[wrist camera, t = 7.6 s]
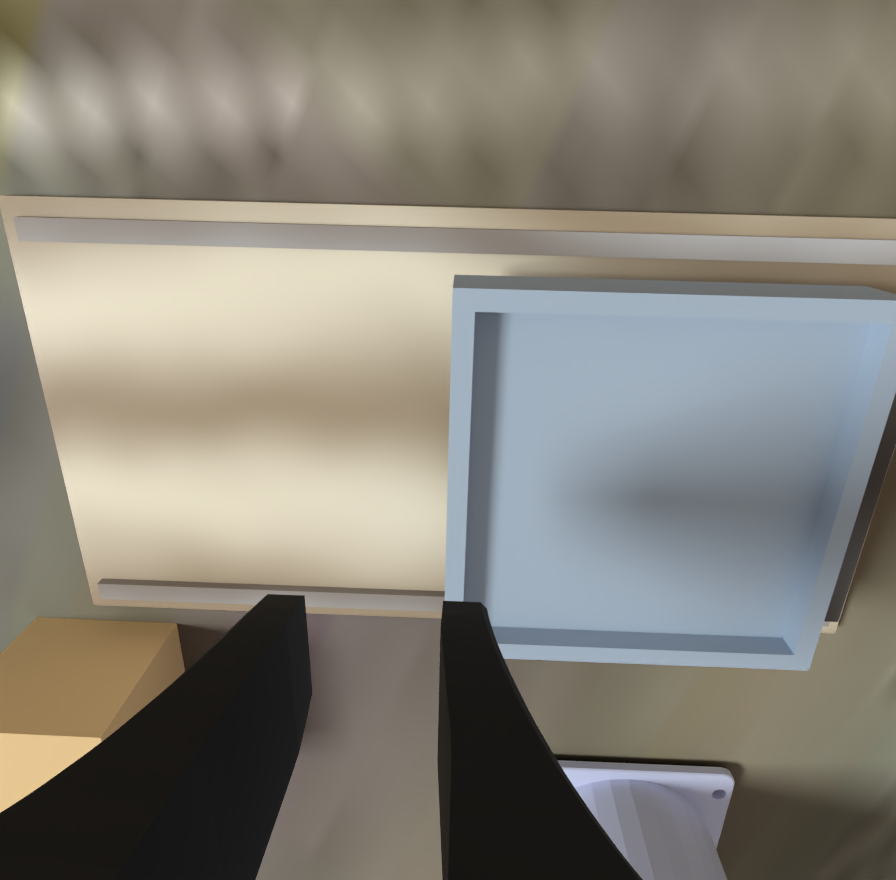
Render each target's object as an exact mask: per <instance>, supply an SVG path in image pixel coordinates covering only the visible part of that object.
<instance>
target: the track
mask: <svg viewBox="0 0 896 880" xmlns="http://www.w3.org/2000/svg"><path fill="white" fill-rule="evenodd" d="M0 209H1V213H2V218H3V222H4V226H5V230H6V235H7V239H8V243H9V247H10V252H11V256H12V260H13V264H14V269H15V273H16V277H17V281H18V286H19V290H20V294H21V298H22V302H23V307H24V311H25V315H26V319H27V324H28V328H29V332H30V336H31V341H32V345H33V349H34V353H35V358H36V362H37V366H38V370H39V375H40V379H41V383H42V387H43V392H44V396H45V400H46V404H47V409H48V413H49V417H50V421H51V426H52V430H53V434H54V438H55V443H56V447H57V451H58V455H59V460H60V464H61V468H62V472H63V477H64V481H65V485H66V489H67V494H68V498H69V502H70V506H71V511H72V515H73V519H74V523H75V528H76V532H77V536H78V540H79V545H80V549H81V553H82V557H83V562H84V566H85V570H86V574H87V579H88V583H89V587H90V591H91V596H92V600H93V604H94V605H107V606H133V607H159V608H185V609H212V610H238V611H250V610H251V609H252V608H253V607H254V606H255V605H256V604H257V603H258V602H259V601H260V600H262V599H263V598H264V597H265V596H266V595H267V594H278V595H305V607H306V613H316V614H342V615H368V616H394V617H420V618H442V606H443V601H445V563H446V525H447V486H448V448H449V409H450V371H451V332H452V294H453V282H454V275H487V276H523V277H558V278H594V279H629V280H665V281H700V282H736V283H771V284H806V285H842V286H867V287H871V288H875V289H879V290H882V291H886V292H890V293H894V294H896V218H861V217H822V216H784V215H746V214H708V213H670V212H632V211H593V210H555V209H517V208H479V207H441V206H403V205H364V204H326V203H288V202H250V201H212V200H174V199H135V198H97V197H59V196H21V195H0ZM895 447H896V393H895V396H894V400H893V403H892V406H891V409H890V412H889V415H888V419H887V422H886V425H885V428H884V431H883V435H882V438H881V441H880V444H879V447H878V451H877V454H876V457H875V460H874V463H873V467H872V470H871V473H870V476H869V479H868V483H867V486H866V489H865V492H864V495H863V499H862V502H861V505H860V508H859V511H858V515H857V518H856V521H855V524H854V527H853V531H852V534H851V537H850V540H849V543H848V547H847V550H846V553H845V556H844V559H843V563H842V566H841V569H840V572H839V575H838V579H837V582H836V585H835V588H834V591H833V595H832V598H831V601H830V604H829V607H828V611H827V614H826V617H825V620H824V623H823V626H822V630H821V633H835V632H836V629H837V626H838V623H839V619H840V616H841V613H842V610H843V607H844V604H845V601H846V598H847V595H848V592H849V589H850V586H851V582H852V579H853V576H854V573H855V570H856V567H857V564H858V561H859V558H860V555H861V552H862V548H863V545H864V542H865V539H866V536H867V533H868V530H869V527H870V524H871V521H872V518H873V515H874V511H875V508H876V505H877V502H878V499H879V496H880V493H881V490H882V487H883V484H884V481H885V477H886V474H887V471H888V468H889V465H890V462H891V459H892V456H893V453H894V450H895Z"/></svg>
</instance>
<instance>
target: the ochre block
mask: <svg viewBox="0 0 896 880" xmlns="http://www.w3.org/2000/svg"><path fill="white" fill-rule="evenodd" d="M184 672H185V669H184V663H183V657H182V651H181V645H180V639H179V633H178V627H177V623H157V622H134V621H111V620H89V619H66V618H43V617H37V618H36V619H35V620H34V621H33V622H32V623H31V624H30V625H29V626H28V627H27V628H26V629H25V630H24V631H23V632H22V633H21V634H20V635H19V636H18V637H17V638H16V639H15V640H14V641H13V642H12V643H11V644H10V645H9V646H8V647H7V648H6V649H5V650H4V651H3V652H2V653H1V654H0V813H1V812H2V811H4V810H5V809H7V808H8V807H10V806H12V805H13V804H15V803H16V802H18V801H19V800H21V799H22V798H24V797H26V796H27V795H29V794H30V793H32V792H33V791H34V790H36V789H37V788H39V787H40V786H42V785H43V784H45V783H46V782H47V781H49V780H50V779H52V778H53V777H54V776H56V775H57V774H59V773H60V772H61V771H63V770H64V769H65V768H67V767H68V766H70V765H71V764H72V763H74V762H75V761H77V760H78V759H79V758H81V757H82V756H84V755H85V754H86V753H88V752H89V751H90V750H92V749H93V748H94V747H95V746H97V745H98V744H99V743H101V742H102V741H103V740H105V739H106V738H107V737H108V736H110V735H111V734H112V733H114V732H115V731H116V730H117V729H119V728H120V727H121V726H122V725H123V724H125V723H126V722H127V721H128V720H129V719H130V718H132V717H133V716H134V715H135V714H136V713H138V712H139V711H140V710H141V709H142V708H144V707H145V706H146V705H147V704H148V703H150V702H151V701H152V700H153V699H154V698H156V697H157V696H158V695H159V694H160V693H162V692H163V691H164V690H165V689H166V688H167V687H168V686H170V685H171V684H172V683H173V682H174V681H175V680H176V679H177V678H178V677H180V676H181V675H182V674H183V673H184Z"/></svg>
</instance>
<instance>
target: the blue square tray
mask: <svg viewBox="0 0 896 880" xmlns="http://www.w3.org/2000/svg"><path fill="white" fill-rule="evenodd" d="M895 393H896V294H894V293H890V292H886V291H882V290H879V289H875V288H871V287H867V286H842V285H806V284H771V283H736V282H700V281H665V280H629V279H594V278H558V277H523V276H487V275H454V282H453V294H452V332H451V371H450V409H449V448H448V486H447V525H446V563H445V601H464V602H481V603H482V604H483V605H484V606H485V607H486V608H487V611H488V616H489V619H490V623H491V626H492V629H493V632H494V635H495V638H496V641H497V643H498V646H499V648H500V651H501V653H502V656H503V658H504V659H529V660H554V661H579V662H605V663H630V664H656V665H681V666H706V667H732V668H757V669H782V670H808V671H809V668H810V665H811V662H812V658H813V655H814V652H815V649H816V646H817V642H818V639H819V636H820V633H821V630H822V626H823V623H824V620H825V617H826V614H827V611H828V607H829V604H830V601H831V598H832V595H833V591H834V588H835V585H836V582H837V579H838V575H839V572H840V569H841V566H842V563H843V559H844V556H845V553H846V550H847V547H848V543H849V540H850V537H851V534H852V531H853V527H854V524H855V521H856V518H857V515H858V511H859V508H860V505H861V502H862V499H863V495H864V492H865V489H866V486H867V483H868V479H869V476H870V473H871V470H872V467H873V463H874V460H875V457H876V454H877V451H878V447H879V444H880V441H881V438H882V435H883V431H884V428H885V425H886V422H887V419H888V415H889V412H890V409H891V406H892V403H893V400H894V396H895Z"/></svg>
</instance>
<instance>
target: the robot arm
mask: <svg viewBox="0 0 896 880" xmlns="http://www.w3.org/2000/svg"><path fill="white" fill-rule="evenodd" d="M311 696H312V684H311V671H310V658H309V646H308V633H307V620H306V607H305V595H278V594H267V595H266V596H265V597H264V598H263V599H262V600H260V601H259V602H258V603H257V604H256V605H255V606H254V607H253V608H252V609H251V610H250V611H249V612H248V613H247V614H246V615H245V616H243V617H242V618H241V619H240V620H239V621H238V622H237V623H236V624H235V625H234V626H233V627H232V628H231V629H230V630H229V631H228V632H227V633H226V634H225V635H224V636H223V637H222V638H221V639H220V640H218V641H217V642H216V643H215V644H214V645H213V646H212V647H211V648H210V649H209V650H208V651H207V652H206V653H205V654H204V655H203V656H201V657H200V658H199V659H198V660H197V661H196V662H195V663H194V664H193V665H192V666H190V667H189V668H188V669H187V670H186V671H185V672H184V673H183V674H182V675H181V676H180V677H178V678H177V679H176V680H175V681H174V682H173V683H172V684H171V685H170V686H168V687H167V688H166V689H165V690H164V691H163V692H162V693H160V694H159V695H158V696H157V697H156V698H154V699H153V700H152V701H151V702H150V703H148V704H147V705H146V706H145V707H144V708H142V709H141V710H140V711H139V712H138V713H136V714H135V715H134V716H133V717H132V718H130V719H129V720H128V721H127V722H126V723H125V724H123V725H122V726H121V727H120V728H119V729H117V730H116V731H115V732H114V733H112V734H111V735H110V736H108V737H107V738H106V739H105V740H103V741H102V742H101V743H99V744H98V745H97V746H95V747H94V748H93V749H92V750H90V751H89V752H88V753H86V754H85V755H84V756H82V757H81V758H79V759H78V760H77V761H75V762H74V763H72V764H71V765H70V766H68V767H67V768H65V769H64V770H63V771H61V772H60V773H59V774H57V775H56V776H54V777H53V778H52V779H50V780H49V781H47V782H46V783H45V784H43V785H42V786H40V787H39V788H37V789H36V790H34V791H33V792H32V793H30V794H29V795H27V796H26V797H24V798H22V799H21V800H19V801H18V802H16V803H15V804H13V805H12V806H10V807H8V808H7V809H5V810H4V811H2V812H1V813H0V880H255V879H256V876H257V873H258V870H259V868H260V865H261V862H262V859H263V856H264V853H265V850H266V847H267V845H268V842H269V839H270V836H271V833H272V830H273V827H274V824H275V822H276V819H277V816H278V813H279V810H280V807H281V804H282V801H283V798H284V795H285V793H286V790H287V787H288V784H289V781H290V778H291V775H292V772H293V769H294V766H295V763H296V760H297V757H298V754H299V750H300V745H301V741H302V737H303V733H304V728H305V724H306V719H307V714H308V710H309V705H310V700H311ZM438 781H439V805H440V828H441V851H442V875H443V880H727V877H726V875H725V872H724V869H723V867H722V864H721V861H720V859H719V856H718V853H717V850H716V849H717V845H718V842H719V838H720V835H721V831H722V827H723V824H724V820H725V817H726V813H727V809H728V806H729V802H730V799H731V795H732V792H733V788H734V784H735V781H734V778H733V776H732V774H731V772H730V771H729V770H728V769H726V768H722V767H707V766H683V765H659V764H636V763H612V762H589V761H565V760H557V759H556V758H555V756H554V754H553V753H552V751H551V749H550V748H549V746H548V744H547V742H546V741H545V739H544V737H543V735H542V734H541V732H540V730H539V729H538V727H537V725H536V723H535V721H534V719H533V718H532V716H531V714H530V712H529V710H528V708H527V706H526V704H525V702H524V700H523V698H522V696H521V694H520V692H519V690H518V688H517V686H516V684H515V682H514V680H513V678H512V676H511V674H510V672H509V670H508V667H507V665H506V663H505V660H504V658H503V656H502V653H501V651H500V648H499V646H498V643H497V641H496V638H495V635H494V632H493V629H492V626H491V623H490V619H489V616H488V611H487V608H486V607H485V606H484V605H483V604H482V603H481V602H464V601H443V606H442V619H441V639H440V682H439V724H438Z"/></svg>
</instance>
